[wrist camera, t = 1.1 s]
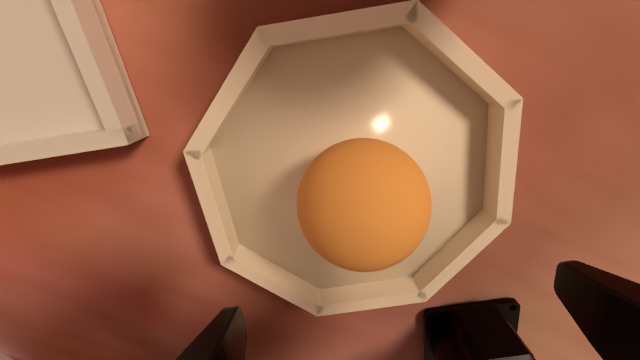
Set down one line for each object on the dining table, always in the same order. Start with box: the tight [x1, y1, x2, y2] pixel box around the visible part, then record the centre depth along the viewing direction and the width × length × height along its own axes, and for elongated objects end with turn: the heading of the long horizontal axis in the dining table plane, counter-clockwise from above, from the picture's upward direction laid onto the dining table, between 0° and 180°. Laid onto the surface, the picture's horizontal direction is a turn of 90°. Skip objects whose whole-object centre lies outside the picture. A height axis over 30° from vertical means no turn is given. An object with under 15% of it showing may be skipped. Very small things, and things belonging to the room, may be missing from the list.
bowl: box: [183, 0, 523, 316], centre depth 16 cm, size 16×16×2 cm
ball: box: [297, 138, 432, 272], centre depth 14 cm, size 6×6×6 cm
